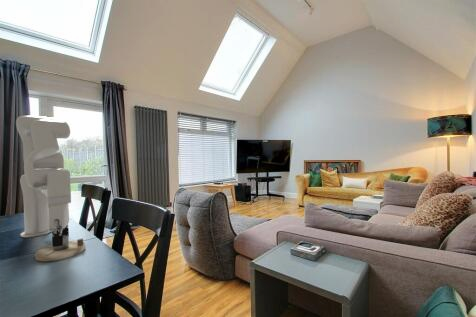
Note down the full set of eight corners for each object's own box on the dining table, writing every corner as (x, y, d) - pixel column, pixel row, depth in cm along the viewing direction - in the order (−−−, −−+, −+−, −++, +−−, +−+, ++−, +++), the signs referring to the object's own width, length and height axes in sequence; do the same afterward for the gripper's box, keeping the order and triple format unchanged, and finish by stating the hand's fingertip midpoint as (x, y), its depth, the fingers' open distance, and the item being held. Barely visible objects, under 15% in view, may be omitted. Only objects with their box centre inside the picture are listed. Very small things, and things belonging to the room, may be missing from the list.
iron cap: (50, 249, 92) (50, 237, 92) (65, 244, 97) (64, 233, 96) (57, 251, 90) (56, 239, 90) (71, 247, 94) (70, 235, 94)
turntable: (60, 243, 102) (59, 234, 102) (93, 244, 100) (93, 235, 100) (23, 260, 86) (23, 250, 86) (63, 261, 85) (62, 251, 84)
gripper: (54, 197, 99) (55, 236, 99) (40, 205, 83) (42, 251, 84) (75, 195, 102) (76, 233, 102) (65, 203, 86) (67, 247, 87)
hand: (61, 241), depth 93 cm, fingers open, 9 cm apart
